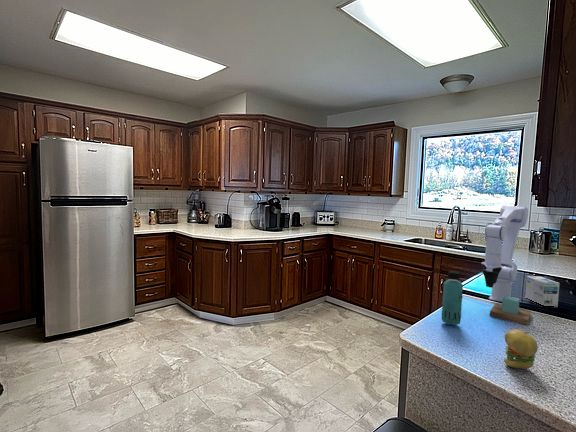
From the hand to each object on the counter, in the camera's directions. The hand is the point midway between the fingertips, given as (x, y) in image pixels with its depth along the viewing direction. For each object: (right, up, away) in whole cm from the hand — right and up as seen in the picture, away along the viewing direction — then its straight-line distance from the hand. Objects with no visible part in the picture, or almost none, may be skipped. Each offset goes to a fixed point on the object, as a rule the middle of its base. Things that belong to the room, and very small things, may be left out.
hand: (491, 285), depth 134 cm
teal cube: (+2, -8, -9) cm, 12 cm away
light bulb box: (+26, -10, +7) cm, 29 cm away
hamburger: (-22, -13, -46) cm, 53 cm away
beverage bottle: (-27, -11, -18) cm, 34 cm away
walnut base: (+2, -10, -9) cm, 14 cm away
